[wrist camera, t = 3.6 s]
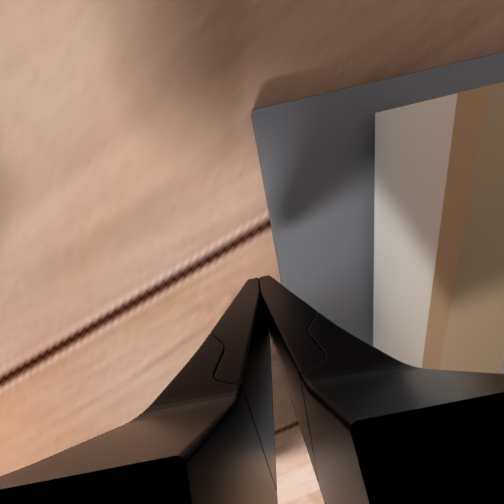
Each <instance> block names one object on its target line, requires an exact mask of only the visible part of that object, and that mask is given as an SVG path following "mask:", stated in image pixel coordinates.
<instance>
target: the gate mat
mask: <svg viewBox="0 0 504 504" xmlns="http://www.w3.org/2000/svg"><path fill="white" fill-rule="evenodd" d="M501 82H504V52H501V53H497V54H493V55H488V56H484V57H480V58H475V59H471V60H467V61H462V62H458V63H454V64H449V65H445V66H441V67H436V68H432V69H428V70H423V71H419V72H415V73H410V74H406V75H402V76H397V77H393V78H389V79H384V80H380V81H376V82H371V83H367V84H363V85H358V86H354V87H350V88H345V89H341V90H337V91H332V92H328V93H324V94H319V95H315V96H311V97H307V98H302V99H298V100H294V101H289V102H285V103H281V104H276V105H272V106H268V107H263V108H259V109H255V110H252V112H251V117H252V123H253V128H254V134H255V139H256V145H257V150H258V156H259V161H260V167H261V173H262V178H263V184H264V189H265V195H266V200H267V206H268V211H269V217H270V223H271V228H272V234H273V239H274V245H275V250H276V256H277V261H278V267H279V273H280V278H281V284H282V285H283V286H284V287H286V288H287V289H288V290H290V291H291V292H292V293H294V294H295V295H296V296H298V297H299V298H300V299H302V300H303V301H304V302H306V303H307V304H308V305H310V306H311V307H313V308H314V309H315V310H317V311H318V313H321V314H322V315H323V316H325V317H326V318H328V319H329V320H330V321H332V322H333V323H335V324H336V325H338V326H339V327H341V328H343V329H344V330H346V331H348V332H349V333H351V334H353V335H354V336H356V337H358V338H360V339H361V340H363V341H365V342H367V343H368V344H370V345H372V346H373V300H374V190H375V113H377V112H381V111H386V110H390V109H394V108H398V107H402V106H406V105H410V104H415V103H419V102H423V101H427V100H431V99H435V98H439V97H443V96H448V95H452V94H456V93H459V92H463V91H468V90H472V89H476V88H480V87H484V86H488V85H492V84H497V83H501ZM499 374H504V360H503V363H502V366H501V369H500V372H499Z"/></svg>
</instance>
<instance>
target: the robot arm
mask: <svg viewBox="0 0 504 504" xmlns="http://www.w3.org/2000/svg"><path fill="white" fill-rule="evenodd" d="M268 327H269V328H268ZM269 332H270V334H269ZM270 336H271V339H272V343H273V346H274V349H275V352H276V355H277V358H278V361H279V364H280V367H281V370H282V373H283V376H284V379H285V383H286V386H287V389H288V392H289V395H290V398H291V401H292V404H293V407H294V410H295V413H296V416H297V419H298V422H299V426H300V429H301V432H302V435H303V438H304V441H305V444H306V447H307V450H308V453H309V456H310V459H311V462H312V465H313V468H314V472H315V475H316V478H317V481H318V483H319V487H320V490H321V493H322V496H323V499H324V502H325V504H504V374H499V373H484V372H468V371H453V370H438V369H424V368H419V367H414V366H411V365H408V364H405V363H403V362H401V361H399V360H397V359H395V358H393V357H391V356H389V355H388V354H386V353H384V352H382V351H381V350H379V349H377V348H375V347H374V346H372V345H370V344H368V343H367V342H365V341H363V340H361V339H360V338H358V337H356V336H354V335H353V334H351V333H349V332H348V331H346V330H344V329H343V328H341V327H339V326H338V325H336V324H335V323H333V322H332V321H330V320H329V319H328V318H326V317H325V316H323V315H322V314H321V313H318V311H317V310H315V309H314V308H313V307H311V306H310V305H308V304H307V303H306V302H304V301H303V300H302V299H300V298H299V297H298V296H296V295H295V294H294V293H292V292H291V291H290V290H288V289H287V288H286V287H284V286H283V285H282V284H280V283H279V282H277V281H276V280H275V279H273V278H272V277H271V276H263V277H260V278H259V279H258V278H253V279H249V280H247V282H246V283H245V285H244V286H243V287H242V289H241V290H240V292H239V293H238V294H237V296H236V297H235V299H234V300H233V302H232V303H231V304H230V306H229V307H228V309H227V310H226V311H225V313H224V314H223V316H222V317H221V319H220V320H219V321H218V323H217V324H216V326H215V327H214V329H213V330H212V331H211V334H209V335H208V337H207V338H206V340H205V341H204V342H203V344H202V345H201V346H200V348H199V349H198V350H197V352H196V353H195V354H194V356H193V357H192V358H191V359H190V360H189V362H188V363H187V364H186V365H185V366H184V368H183V369H182V370H181V371H180V372H179V373H178V374H177V376H176V377H175V378H174V379H173V380H172V381H171V382H170V384H169V385H168V386H167V387H166V388H165V389H164V390H163V392H162V393H161V394H160V395H159V396H158V397H157V399H156V400H155V401H154V402H153V403H152V404H151V405H150V406H149V407H148V408H147V409H146V410H145V411H144V412H143V413H142V414H140V415H139V416H138V417H136V418H135V419H133V420H132V421H130V422H128V423H126V424H124V425H122V426H120V427H118V428H115V429H113V430H111V431H108V432H106V433H104V434H101V435H99V436H97V437H94V438H92V439H90V440H87V441H85V442H83V443H80V444H78V445H76V446H73V447H71V448H69V449H66V450H64V451H62V452H60V453H57V454H55V455H53V456H50V457H48V458H46V459H43V460H41V461H39V462H36V463H34V464H31V465H29V466H26V467H24V468H21V469H19V470H16V471H14V472H11V473H8V474H6V475H3V476H0V504H278V502H277V481H276V459H275V438H274V416H273V394H272V372H271V350H270Z"/></svg>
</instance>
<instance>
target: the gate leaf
mask: <svg viewBox="0 0 504 504" xmlns="http://www.w3.org/2000/svg"><path fill="white" fill-rule="evenodd" d="M373 346H374V347H375V348H377V349H379V350H381V351H382V352H384V353H386V354H388V355H389V356H391V357H393V358H395V359H397V360H399V361H401V362H403V363H405V364H408V365H411V366H414V367H419V368H424V369H438V370H453V371H468V372H484V373H499V372H500V369H501V366H502V363H503V360H504V82H501V83H497V84H492V85H488V86H484V87H480V88H476V89H472V90H468V91H463V92H459V93H456V94H452V95H448V96H443V97H439V98H435V99H431V100H427V101H423V102H419V103H415V104H410V105H406V106H402V107H398V108H394V109H390V110H386V111H381V112H377V113H375V190H374V300H373Z"/></svg>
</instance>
